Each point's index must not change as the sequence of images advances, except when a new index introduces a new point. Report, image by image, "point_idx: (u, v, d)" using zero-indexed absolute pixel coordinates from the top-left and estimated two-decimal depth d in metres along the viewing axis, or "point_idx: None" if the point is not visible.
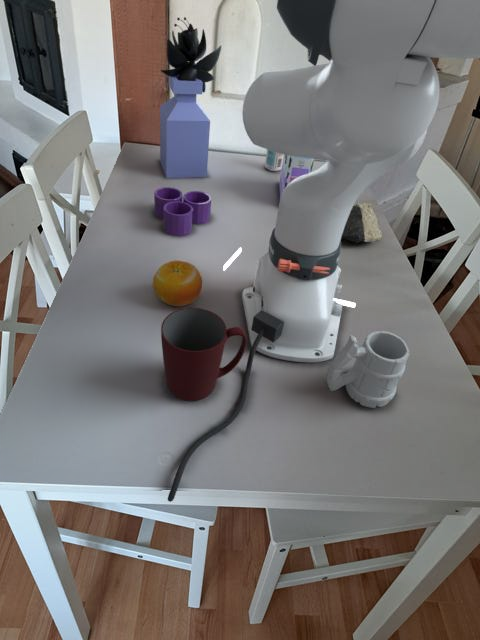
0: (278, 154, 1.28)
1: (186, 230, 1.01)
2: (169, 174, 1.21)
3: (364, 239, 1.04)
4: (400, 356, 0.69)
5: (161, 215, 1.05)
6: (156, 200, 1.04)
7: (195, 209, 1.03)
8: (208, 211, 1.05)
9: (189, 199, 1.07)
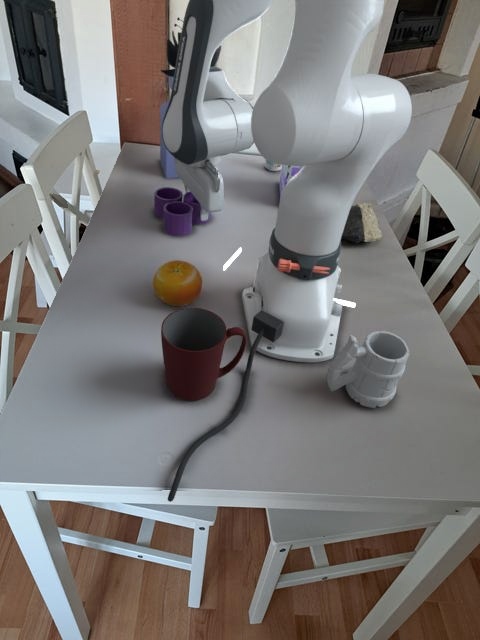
0: None
1: (186, 230, 1.01)
2: (169, 174, 1.21)
3: (364, 239, 1.04)
4: (400, 356, 0.69)
5: (161, 215, 1.05)
6: (156, 200, 1.04)
7: (195, 210, 1.03)
8: None
9: (189, 199, 1.07)
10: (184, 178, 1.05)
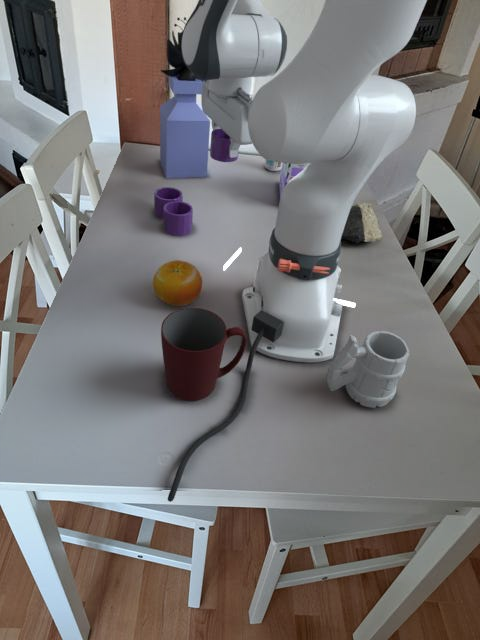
0: None
1: (186, 230, 1.01)
2: (169, 174, 1.21)
3: (364, 239, 1.04)
4: (400, 356, 0.69)
5: (161, 215, 1.05)
6: (156, 200, 1.04)
7: (224, 146, 1.00)
8: None
9: None
10: (212, 113, 1.01)
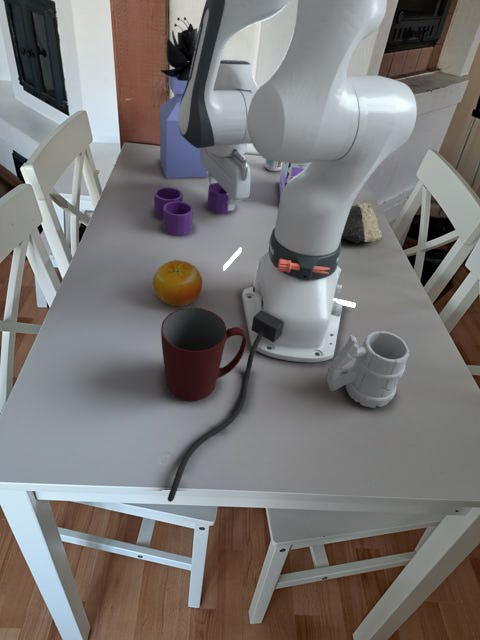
0: None
1: (186, 230, 1.01)
2: (169, 174, 1.21)
3: (364, 239, 1.04)
4: (400, 356, 0.69)
5: (161, 215, 1.05)
6: (156, 200, 1.04)
7: (220, 200, 1.08)
8: None
9: (213, 190, 1.12)
10: (210, 168, 1.09)
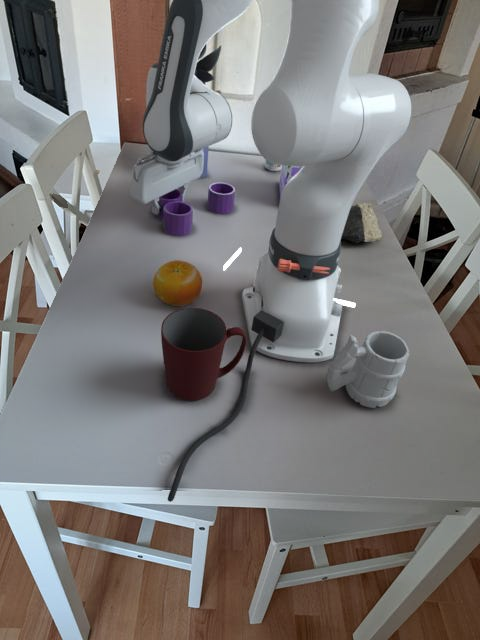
0: None
1: (186, 230, 1.01)
2: None
3: (364, 239, 1.04)
4: (400, 356, 0.69)
5: (161, 215, 1.05)
6: None
7: (220, 200, 1.08)
8: (232, 201, 1.10)
9: (213, 190, 1.12)
10: None
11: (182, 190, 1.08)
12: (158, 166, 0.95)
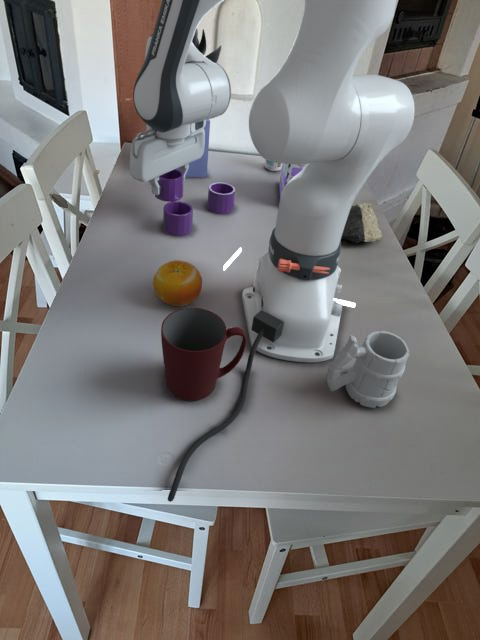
0: None
1: (186, 230, 1.01)
2: None
3: (364, 239, 1.04)
4: (400, 356, 0.69)
5: (161, 196, 1.01)
6: None
7: (220, 200, 1.08)
8: (232, 201, 1.10)
9: (213, 190, 1.12)
10: None
11: (183, 171, 1.04)
12: (158, 142, 0.92)
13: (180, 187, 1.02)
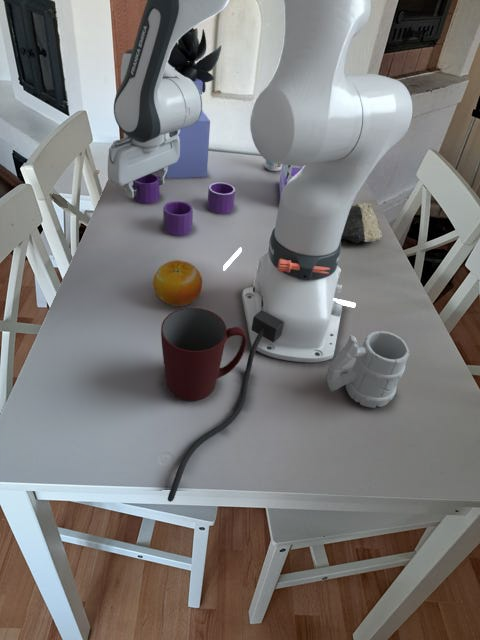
0: None
1: (186, 230, 1.01)
2: (169, 174, 1.21)
3: (364, 239, 1.04)
4: (400, 356, 0.69)
5: (138, 199, 1.10)
6: (133, 184, 1.08)
7: (220, 200, 1.08)
8: (232, 201, 1.10)
9: (213, 190, 1.12)
10: None
11: (162, 173, 1.13)
12: (133, 149, 0.99)
13: (156, 190, 1.10)
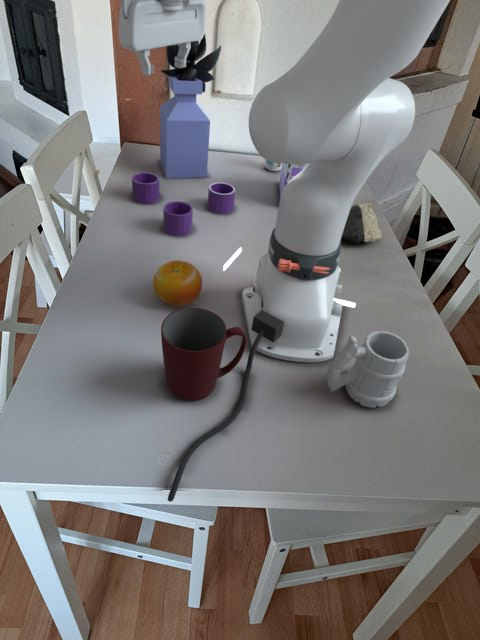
0: None
1: (186, 230, 1.01)
2: (169, 174, 1.21)
3: (364, 239, 1.04)
4: (400, 356, 0.69)
5: (138, 199, 1.10)
6: (133, 184, 1.08)
7: (220, 200, 1.08)
8: (232, 201, 1.10)
9: (213, 190, 1.12)
10: None
11: (184, 52, 0.93)
12: (151, 2, 0.79)
13: (156, 190, 1.10)
